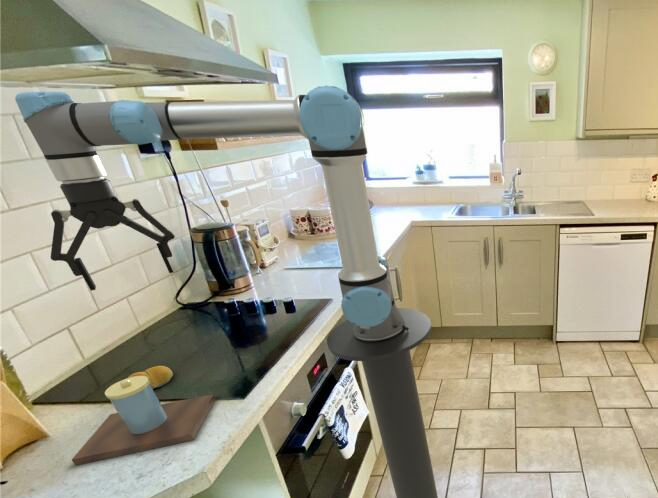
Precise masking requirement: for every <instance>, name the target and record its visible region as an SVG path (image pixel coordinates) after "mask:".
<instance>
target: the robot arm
mask: <svg viewBox="0 0 658 498" xmlns="http://www.w3.org/2000/svg"><path fill="white" fill-rule="evenodd" d="M14 100H15V103H16V105H17V107H18V109H19V113H20V114H21V116H22V119H23V122H24V123H25V124H26V125H27V127H28V129H29V131H30V132H31V135H32V136H33V138H34V140H35V142H36V144H37V146H38V147H39V149H40V150H41V152H42V154H43V157H44V160H45V162H46V163H47V165H48V167H49V169H50V171H51V173H52V174H53V177H54V178H55V181H57V182H61V183H60V186H59V188H60V190H61V191H62V194H63V195H64V197H65V199H66V201H67V203H68V205H69V209H68V210H67V209H66V210H59V209H53V210H52V211H51V213H50V216H51V218H52V221H53V223H54V225H53V234H52V241H51V250H50V251H51V252H50V260H51V261H54V262H57V261H58V262H60V261H62V262H65V263H67V265H68V267H69V269H70V270H71V272H72V274H73V276H75V277H80V276H82V277H83V279H84V281H85V283H86V285H87V286H88V288H89V290H90V292H92V291H96V289H97V285H96V284H95V282H94V280H93V278H92V276H91V275H90V273H89V271H88V269H87V267H86V266H85V263H84V262H83V260H82V258H81V257H76V255H77V253H78V252H79V249H80V248H81V246H82V244H83V241H85V238H86V236H87V235H88V233H89V230H90V228H92V229H103V228H106V227H117V226H118V225H119V224H122V225H124V226H127V227H129V228H130V229H132V230H134V231H136V232H138V233H140V234H142V235H144V236H146V237H148V238H150V239H152V240H154V241H156V242H157V243H156V247H157V249H158V251H159V253H160V255H161V258H162V260H163V262H164V265H165V267H166V269H167V271H168V273H169V274H172V273H174V270H173V268H172V265H171V263H170V261H169V258H172V257H173V253H172V250H171V248H170V247H169V242H170V241H171V240H174V239H175V238H176V236H175V234H174V233H173V232H172V230H170V229H169V228H168V227H166V226H165V225H164V224H163V223H162V222H160V220H158V219H157V218H156V217H155V216H153V215H152V214H151V213H150V212H148V210H146V209H145V208H144V207H143V205H142V203H141V202H140V200H139V199H138V198H133V199H131V200H129V201H125V202H122V201H121V200H120V198H119V197H118V195H117V192H116V190H115V189H114V186H113V184H112V182H111V180H110V179H108V178H106V177H107V176H108V174H107V172H106V169H105V168H104V165H103V163H102V161H101V159H100V156H99V155H98V152H97V151H96V148H95V147H102V146H103V147H104V146H125V145H139V146H141V145H146V144H150V143H157V142H160V141H182V140H208V139H209V140H210V139H211V140H212V139H239V138H240V139H241V138H268V137H269V138H270V137H271V138H272V137H299V136H302V137H304V138H305V139H306V140H307V141H308V144H309V149H310V153H311V158H312V159H313V160H314V161H316V162H317V163H319V164H320V166H321V170H322V173H323V174H322V175H323V178H324V179H323V180H324V182H325V184H324V185H325V188H326V193H327V198H328V202H329V208H330V212H331V213H330V214H331V216H332V222H333V227H334V231H335V236H336V241H337V246H338V250H339V255H340V260H341V264H342V268H341V270H340V271H339V272H338V274H337V277H338V282H339V287H340V292H341V296H342V299H341V304H340V305H341V311H342V313H343V316H344V317H345V319H346V320H349V321H350V322H352V323H354V326H353V332H354V336H355V338H356V339H357V340H359V341H361V342H367V343H375V342H382V341H386V340H389V339H392V338H394V337H396V336H398V335H400V334H401V333H402V332H403V331H404V330H407V331H408V329H409V328H408V327H406V325H405V321H404V318H403V316H402V315H401V313H400V311H399V310H398V308H399V307H398V306H397V305H396V302H395V297H394V296H395V295H394V291H393V286H392V281H391V277H390V270H389V264H388V262H387V258H385V257H384V256H379V254H378V249H377V244H376V239H375V231H374V225H373V219H372V213H371V207H370V201H369V196H368V190H367V184H366V183H367V182H366V178H365V171H364V166H363V163H364V161H365V160H366V158H367V157H368V155H369V153H368V147H367V140H366V135H365V129H364V128H365V127H364V126H365V117H364V116H365V115H364V112H363V109H362V107H361V105H360V104H359V102H358V100H357V99H356V98H355V97H354V96H352V95H351V94H350V93H349V92H347V91H346V90H344V89H343V88H341V87H337V86H335V85H327V84H326V85H323V86H316V87H314V88H312V89H311V90H309V91H308V92H307V93H306V94H298V95H297V96H296V97H295V98H294V99H277V100H276V99H274V100H273V99H272V100H271V99H269V100H266V99H265V100H222V101H221V100H219V101H173V102H164V101H163V102H159V101H158V102H150V101H149V102H145V101H141V100H128V99H127V100H124V99H120V100H115V101H96V102H83V103H82V102H74V100H73V99H72V98H71V96H70V95H69V94H68V93H66V92H65V91H64V92H63V91H25V92H19V93H17V94H16V95H15V97H14ZM126 209H130V210H131V211H132V212H137V213H138V214H139V215H140V216H141V217H143V218H144V219H145V220H146V221H147V222H148V223H150V224H151V225H152V226H153V227H154V228H156V229H157V230H158V231H159V232H161V233H162V234H163V235H160V234H159V233H157V232H155V231H153V230H151V229H150V228H148V227H145V226H144V225H142V224H140V223H139V222H137V221H134V220H133V219H131V218H129V217H127V216H126V215H125V212H126ZM70 217H73V218H75V219H76V220H77V221H80V222H82V223H81V225H80V227H79V228H78V230H77V233H76V234H75V236H74V238H73V240H72V242H71V244H70V246H69V247H68V250H67V252H66V253H65V252H64V253H63V252H62V248H63V240H64V239H63V238H64V231H65V222H68V221H69V218H70ZM75 257H76V258H75Z"/></svg>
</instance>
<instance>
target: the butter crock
mask: <svg viewBox="0 0 658 498" xmlns="http://www.w3.org/2000/svg"><path fill="white" fill-rule="evenodd" d="M104 395H105V398H106V399H108V400H110V403H111V404H112V405H113V407H114V409H115V411H116V413H118V414H119V415H120V417H121V418H122V420H123V422H124V423H125V425H126V427H127V428H128V430H129V431H130V433H132V434H142V433H146V432H149V431H151V430H153V429H155V428H157V427H159V426H160V425H162V424H163V423H164V422H165V421H166V420H167V414H166V412H165V411H164V409H163V407H162V405H161V404H162V403H161V402H160V400H159V398H158V396H157V394H156V392H155V391H154V389H152V387H151V385H150V381H149V379H148V377H146V376H135V377H131V378H128V377H127V378H125V379H122V380H120V381H117V382H114V383H113V384H111V385H110V386H108V388H106V390H105V391H104Z"/></svg>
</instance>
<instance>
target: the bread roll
mask: <svg viewBox="0 0 658 498" xmlns="http://www.w3.org/2000/svg"><path fill="white" fill-rule="evenodd" d="M135 376H146V377H148V379H149V381H150V385H151V387H152V389H153V390H155V389H156V388H161V387H163V386H164V385H165V386H166V385H167V384H168V383H169V382H170V381H171V379H172V378H173V376H174V373H173V371H172V370H171V368H169V367H167V366H166V365H156V366H152V367H149V368H147V369H145V370H144V371H138V372H137V371H136V372H134V373H131V374H129V375H128V376H127V378H131V377H135Z"/></svg>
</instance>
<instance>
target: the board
mask: <svg viewBox="0 0 658 498" xmlns="http://www.w3.org/2000/svg"><path fill="white" fill-rule="evenodd" d="M216 401H217V399H216V396H215V394H214V393H213V394H207V395H201V396H197V397H192V398H186V399H181V400H176V401H171V402H165V403H161V405H162V407H163V409H164V411H165V412H166V414H167V420H166V421H165V422H164V423H163V424H162V425H160V426H159V427H157V428H155V429H153V430H151V431H149V432H146V433H142V434H132V433H130V431H129V430H128V428H127V427H126V425H125V423H124V422H123V420H122V418H121V417H120V415H119V414H118V412H113V413H110V414H109V416H107V418H106V419H104V421H103V422H102V423H101V425H99V427H98V428H97V429H96V431H95V432H94V433H93V434H92V435H91V436H90V437H89V438H88V440H87V441H86V442H85V443H84V444H83V446H82V447H81V448H80V449H79V450H78V452H77V453H76V454H75V455H74V456H73V457H72V458H71V461H72V463H73V464H74V465H75V466H79V465H83V464H84V465H85V464H88V463H92V462H97V461H102V460H106V459H112V458H115V457H116V458H117V457H121V456H125V455H126V456H127V455H130V454H134V453H140V452H144V451H148V450H154V449H157V448H163V447H168V446H172V445H176V444H180V443H185V442H191V441H194V440H195V439H196V437H197V435H198V433H199V431H200V430H201V428H202V426H203V424H204V422H205V420H206V418H207V417H208V415H209V413H210V412H211V409H212V407H213V406H214V403H215V402H216Z"/></svg>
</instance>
